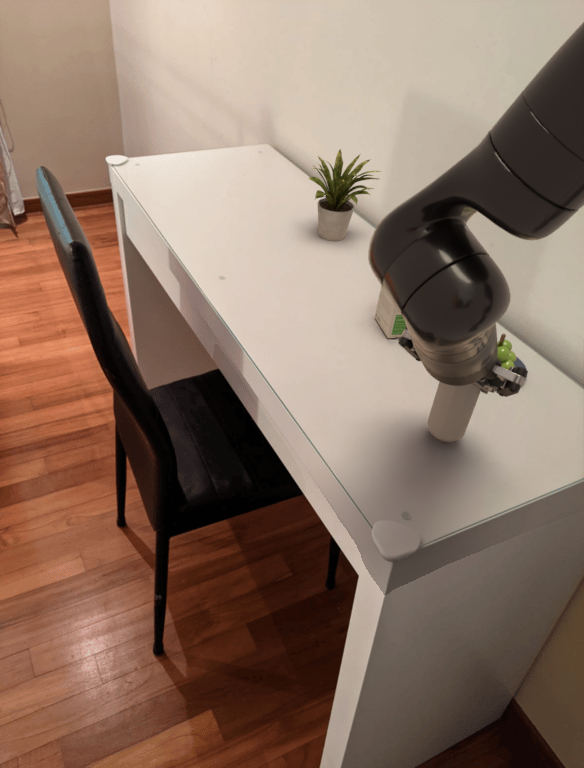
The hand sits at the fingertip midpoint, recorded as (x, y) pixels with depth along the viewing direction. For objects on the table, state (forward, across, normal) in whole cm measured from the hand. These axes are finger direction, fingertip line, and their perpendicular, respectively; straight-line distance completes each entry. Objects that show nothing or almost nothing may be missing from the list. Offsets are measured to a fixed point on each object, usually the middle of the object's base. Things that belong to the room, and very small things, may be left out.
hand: (466, 376), depth 73 cm
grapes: (+18, 0, -6) cm, 19 cm away
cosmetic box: (+19, +15, -7) cm, 25 cm away
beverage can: (+4, 0, +7) cm, 8 cm away
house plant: (+33, +40, -20) cm, 55 cm away
